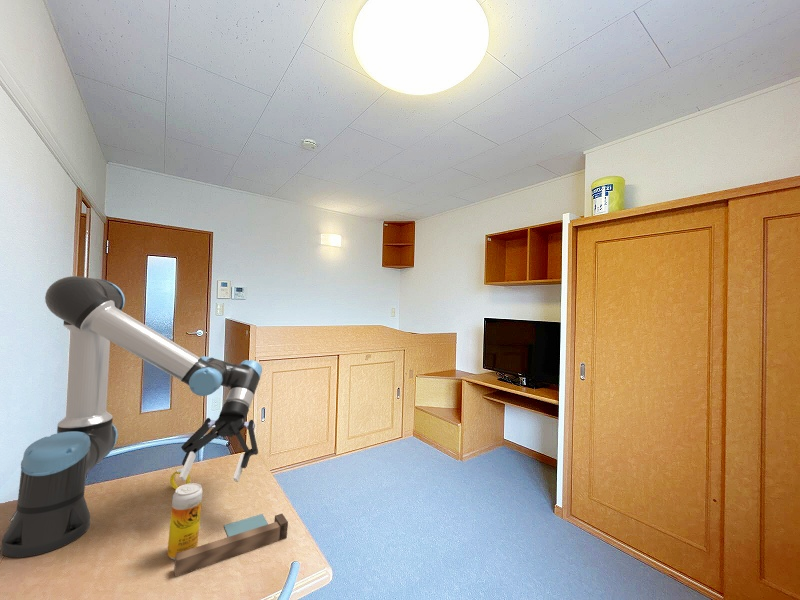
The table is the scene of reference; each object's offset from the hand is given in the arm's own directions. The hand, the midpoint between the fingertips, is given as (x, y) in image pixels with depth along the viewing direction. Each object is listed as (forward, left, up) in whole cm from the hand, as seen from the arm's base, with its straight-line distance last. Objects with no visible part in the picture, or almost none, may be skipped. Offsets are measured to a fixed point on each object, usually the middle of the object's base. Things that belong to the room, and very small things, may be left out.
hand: (209, 479), depth 89 cm
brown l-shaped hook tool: (+5, -11, -13) cm, 18 cm away
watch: (-3, +27, -14) cm, 31 cm away
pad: (+10, -5, -13) cm, 17 cm away
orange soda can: (-5, -6, -14) cm, 16 cm away
